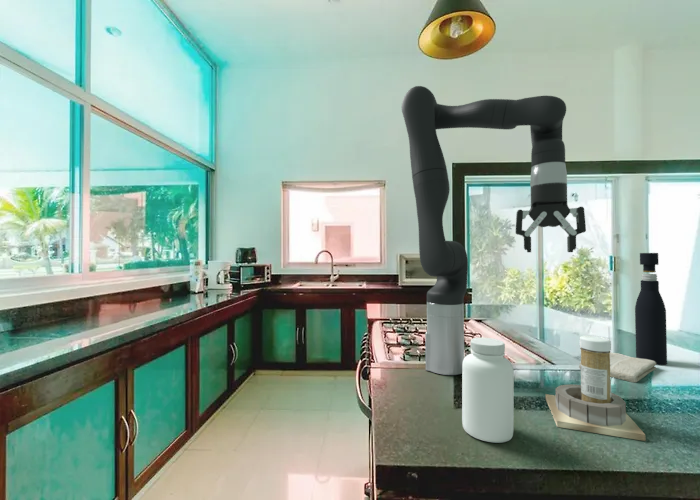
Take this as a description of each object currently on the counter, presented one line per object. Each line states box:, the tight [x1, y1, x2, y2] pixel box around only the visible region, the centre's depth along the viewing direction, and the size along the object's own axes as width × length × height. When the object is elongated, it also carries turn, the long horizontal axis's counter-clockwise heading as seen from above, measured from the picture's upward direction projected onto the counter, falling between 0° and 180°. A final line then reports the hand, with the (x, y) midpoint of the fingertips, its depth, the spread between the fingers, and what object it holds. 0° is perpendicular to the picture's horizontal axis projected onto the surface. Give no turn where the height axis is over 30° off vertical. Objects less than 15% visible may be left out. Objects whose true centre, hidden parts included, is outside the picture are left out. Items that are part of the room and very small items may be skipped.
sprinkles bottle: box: [579, 335, 612, 404], centre depth 60 cm, size 5×5×14 cm
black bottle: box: [634, 252, 668, 366], centre depth 93 cm, size 6×6×30 cm
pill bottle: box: [461, 337, 515, 444], centre depth 56 cm, size 8×8×15 cm
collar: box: [545, 384, 646, 442], centre depth 61 cm, size 12×12×4 cm
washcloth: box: [578, 352, 657, 383], centre depth 87 cm, size 12×18×3 cm, turn 126°
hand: (549, 252), depth 80 cm, fingers open, 8 cm apart
